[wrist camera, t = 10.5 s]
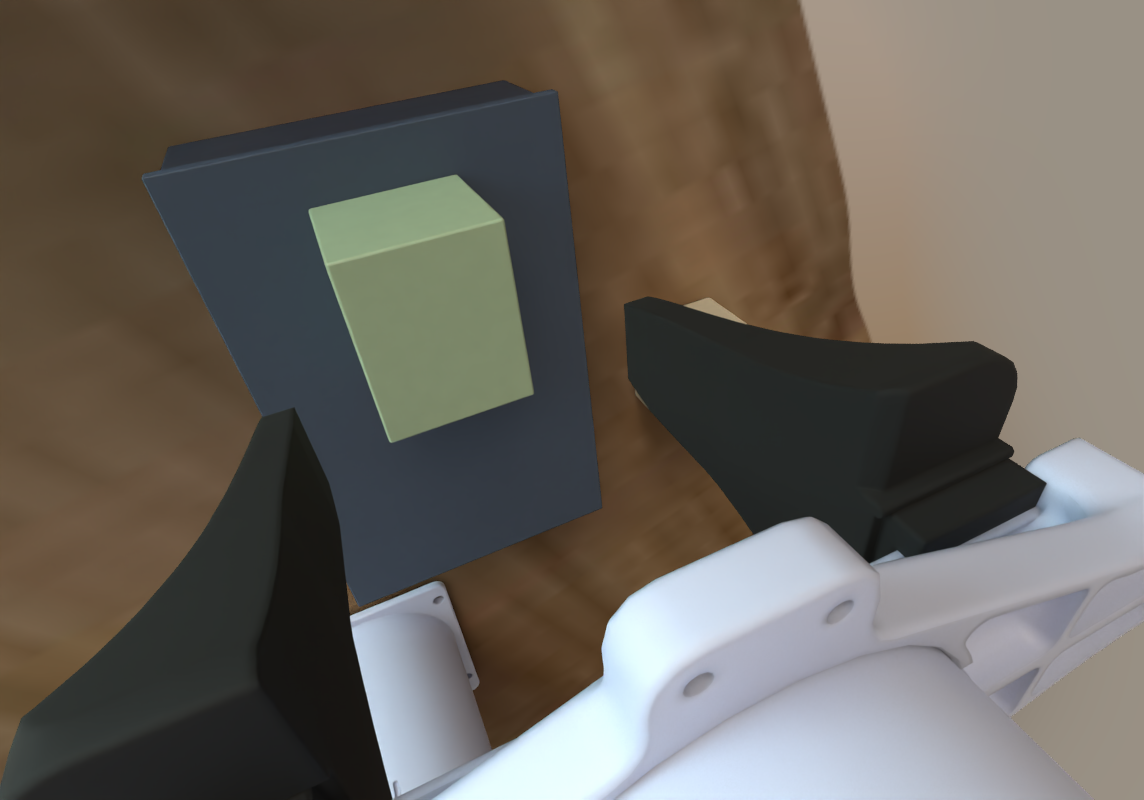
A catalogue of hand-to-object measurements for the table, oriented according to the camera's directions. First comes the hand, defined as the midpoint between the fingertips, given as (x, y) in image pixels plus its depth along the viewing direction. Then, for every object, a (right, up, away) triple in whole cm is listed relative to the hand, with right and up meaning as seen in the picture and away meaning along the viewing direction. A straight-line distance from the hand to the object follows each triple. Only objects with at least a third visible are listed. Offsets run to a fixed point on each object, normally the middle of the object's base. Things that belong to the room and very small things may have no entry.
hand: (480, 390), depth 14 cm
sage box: (-3, +3, +5) cm, 6 cm away
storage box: (-4, +2, +10) cm, 11 cm away
